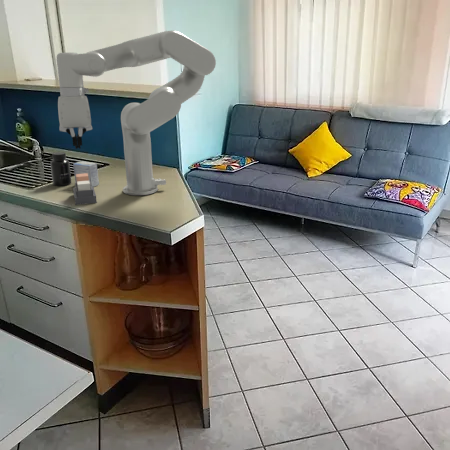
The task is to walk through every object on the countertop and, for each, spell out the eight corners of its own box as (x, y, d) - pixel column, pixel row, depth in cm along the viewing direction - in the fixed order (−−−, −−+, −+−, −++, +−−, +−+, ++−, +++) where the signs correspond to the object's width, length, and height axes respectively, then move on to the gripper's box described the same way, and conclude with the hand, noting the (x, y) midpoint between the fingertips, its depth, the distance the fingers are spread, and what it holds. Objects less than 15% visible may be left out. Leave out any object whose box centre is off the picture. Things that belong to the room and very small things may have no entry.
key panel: (93, 192, 172) (92, 180, 170) (96, 202, 161) (95, 190, 160) (73, 194, 170) (72, 182, 168) (75, 204, 159) (73, 192, 158)
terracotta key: (88, 181, 169) (87, 173, 168) (89, 184, 165) (88, 176, 164) (76, 182, 168) (75, 174, 166) (77, 185, 164) (76, 177, 163)
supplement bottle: (66, 187, 179) (62, 155, 175) (49, 185, 180) (45, 155, 176) (75, 182, 185) (71, 151, 181) (59, 181, 186) (55, 151, 182)
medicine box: (99, 185, 181) (97, 163, 178) (92, 188, 178) (89, 165, 175) (83, 182, 184) (80, 161, 181) (75, 185, 181) (72, 163, 178)
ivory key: (89, 188, 164) (89, 180, 163) (90, 191, 161) (89, 183, 160) (78, 189, 163) (77, 181, 162) (78, 193, 160) (77, 184, 158)
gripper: (94, 90, 161) (99, 144, 167) (48, 91, 156) (54, 146, 163) (96, 93, 154) (101, 148, 161) (48, 94, 149) (55, 151, 156)
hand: (77, 147), depth 162 cm, fingers closed
